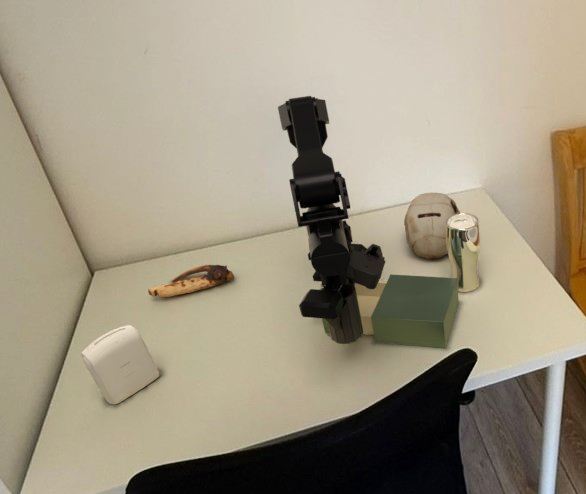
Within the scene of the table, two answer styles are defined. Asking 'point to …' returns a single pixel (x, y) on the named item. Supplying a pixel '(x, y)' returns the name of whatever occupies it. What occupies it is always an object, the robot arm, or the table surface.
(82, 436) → the table surface
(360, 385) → the table surface
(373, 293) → the drawer
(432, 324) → the green box
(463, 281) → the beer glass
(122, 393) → the photo printer
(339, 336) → the black cup
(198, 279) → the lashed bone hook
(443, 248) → the coin bank
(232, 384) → the table surface
